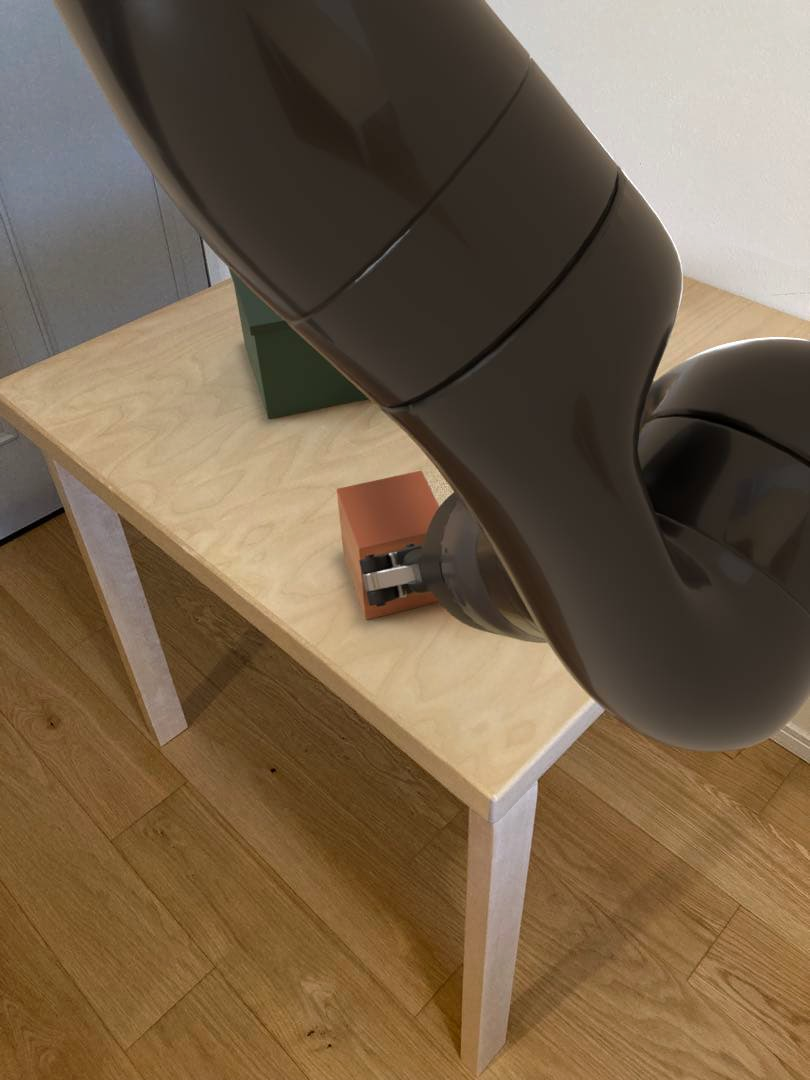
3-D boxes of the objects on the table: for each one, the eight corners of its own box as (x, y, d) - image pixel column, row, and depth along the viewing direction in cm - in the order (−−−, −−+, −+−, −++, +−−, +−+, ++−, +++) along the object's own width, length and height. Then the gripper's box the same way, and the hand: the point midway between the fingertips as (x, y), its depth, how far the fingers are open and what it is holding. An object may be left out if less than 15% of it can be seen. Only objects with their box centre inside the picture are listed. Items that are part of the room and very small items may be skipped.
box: (265, 421, 89) (249, 326, 82) (242, 345, 99) (225, 255, 92) (405, 393, 92) (402, 299, 85) (368, 322, 102) (362, 232, 95)
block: (365, 620, 71) (358, 548, 65) (344, 559, 75) (336, 488, 70) (449, 599, 72) (450, 527, 66) (423, 541, 77) (421, 469, 71)
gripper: (645, 438, 40) (524, 477, 57) (361, 502, 38) (323, 523, 55) (682, 600, 40) (551, 591, 57) (401, 674, 38) (351, 642, 55)
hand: (440, 558), depth 56 cm, fingers closed
